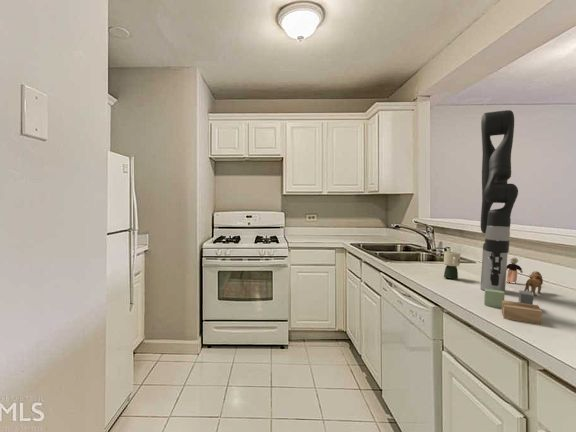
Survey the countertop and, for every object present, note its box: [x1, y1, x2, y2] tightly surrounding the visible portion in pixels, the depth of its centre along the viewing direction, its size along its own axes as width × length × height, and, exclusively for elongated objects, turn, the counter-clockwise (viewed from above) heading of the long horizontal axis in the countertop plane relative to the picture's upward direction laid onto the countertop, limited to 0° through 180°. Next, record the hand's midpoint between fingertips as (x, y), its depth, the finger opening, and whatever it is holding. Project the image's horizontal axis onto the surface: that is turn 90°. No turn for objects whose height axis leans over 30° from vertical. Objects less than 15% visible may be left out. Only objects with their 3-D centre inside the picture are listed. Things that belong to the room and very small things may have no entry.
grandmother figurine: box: [506, 256, 524, 283], centre depth 166 cm, size 8×4×13 cm, turn 76°
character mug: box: [443, 250, 461, 280], centre depth 171 cm, size 11×7×13 cm, turn 169°
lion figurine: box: [523, 270, 544, 297], centre depth 147 cm, size 15×5×9 cm, turn 138°
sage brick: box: [483, 289, 506, 309], centre depth 127 cm, size 6×4×6 cm, turn 63°
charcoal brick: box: [518, 289, 534, 305], centre depth 126 cm, size 6×4×6 cm, turn 152°
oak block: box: [501, 299, 543, 325], centre depth 114 cm, size 8×10×4 cm
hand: (494, 283), depth 126 cm, fingers open, 8 cm apart
